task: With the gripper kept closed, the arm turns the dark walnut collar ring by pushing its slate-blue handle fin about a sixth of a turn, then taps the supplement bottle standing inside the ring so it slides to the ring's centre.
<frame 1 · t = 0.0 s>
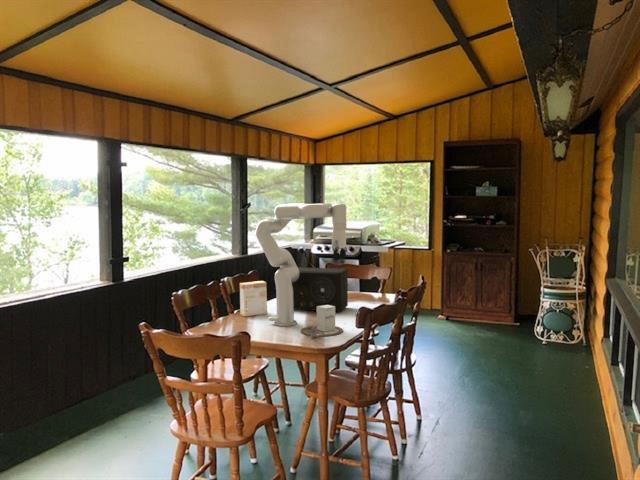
hand: (339, 259, 287), 37 cm above the table, tool pointing down, fingers open, 9 cm apart
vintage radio: (315, 309, 340), on the table
collar: (320, 327, 282), point 3 cm above the table, hinge at 0.0°
coffeecake box: (253, 314, 329), on the table
supplement box: (326, 330, 288), resting in collar
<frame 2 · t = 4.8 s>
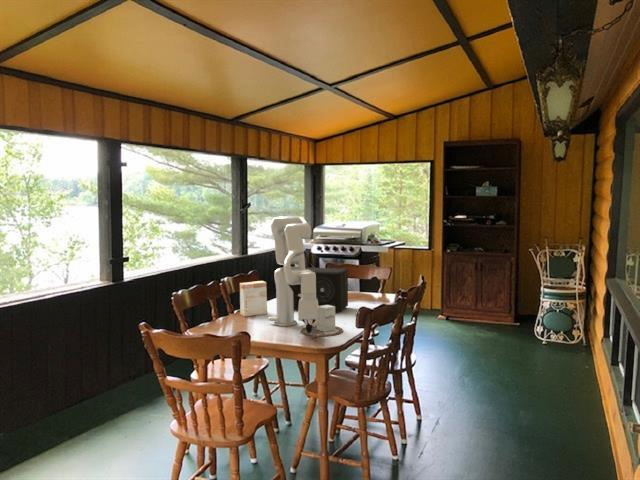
hand: (309, 332, 273), 2 cm above the table, tool pointing down, fingers closed
collar: (320, 327, 282), point 3 cm above the table, hinge at 0.6°, touching gripper
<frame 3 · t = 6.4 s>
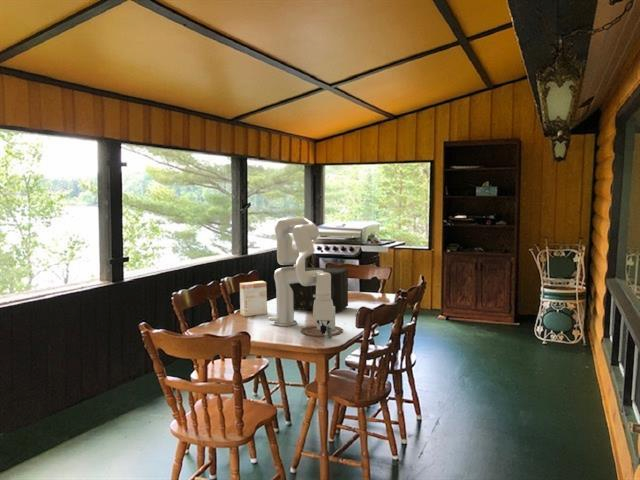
hand: (323, 333, 272), 2 cm above the table, tool pointing down, fingers closed
collar: (322, 327, 282), point 3 cm above the table, hinge at 35.2°, touching gripper
everything else where it was.
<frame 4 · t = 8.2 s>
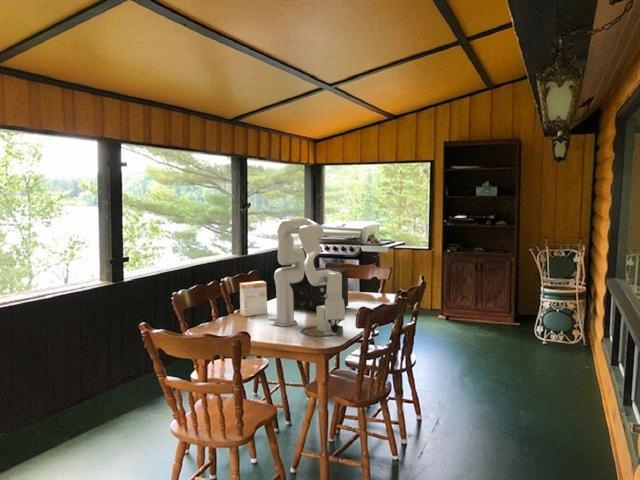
hand: (334, 332, 273), 2 cm above the table, tool pointing down, fingers closed
collar: (324, 327, 282), point 3 cm above the table, hinge at 61.4°, touching gripper
everything else where it was.
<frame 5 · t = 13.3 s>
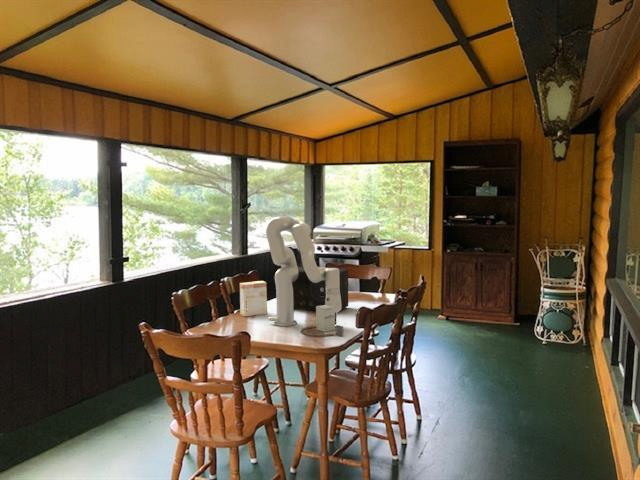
hand: (333, 324, 293), 1 cm above the table, tool pointing down, fingers closed
collar: (324, 327, 282), point 3 cm above the table, hinge at 61.5°
supplement box: (325, 330, 287), resting in collar, touching gripper
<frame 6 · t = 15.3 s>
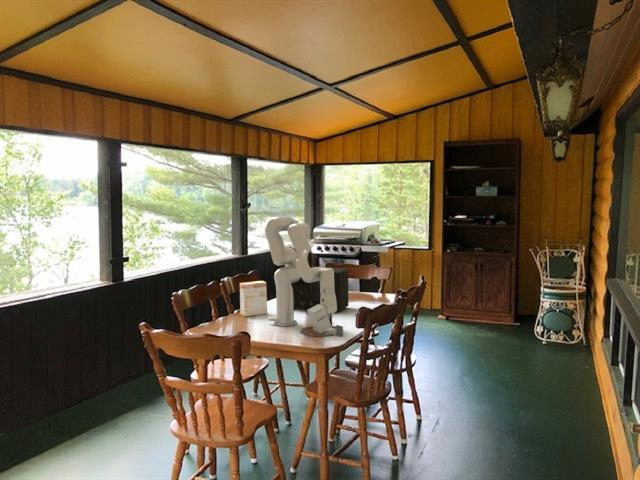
hand: (328, 325, 287), 2 cm above the table, tool pointing down, fingers closed
supplement box: (323, 329, 283), point 1 cm above the table, touching gripper
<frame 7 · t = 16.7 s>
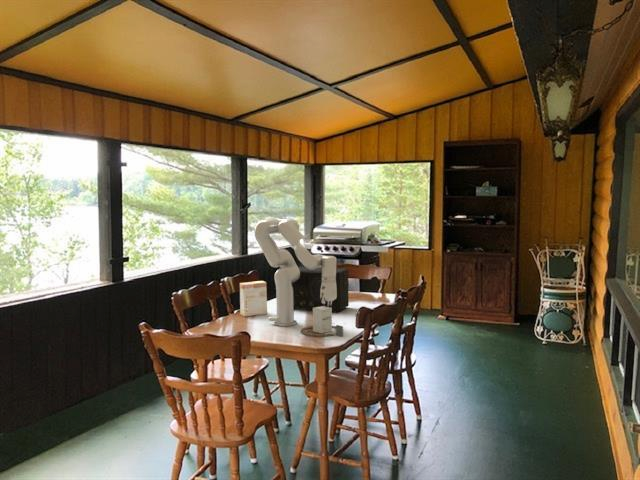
hand: (327, 312, 291), 8 cm above the table, tool pointing down, fingers closed
supplement box: (322, 331, 284), resting in collar
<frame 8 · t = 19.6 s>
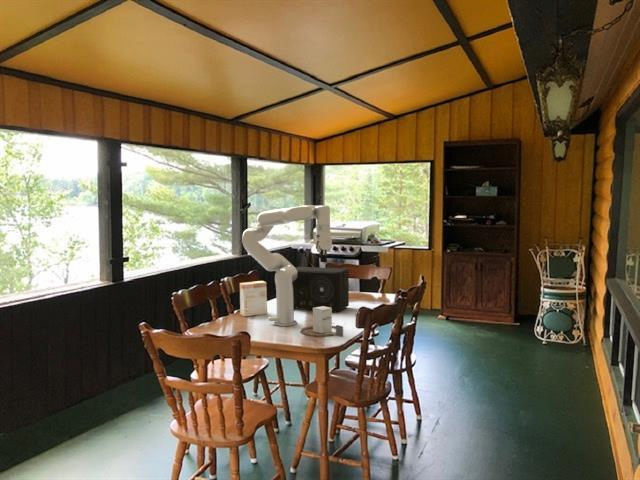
hand: (323, 261, 294), 35 cm above the table, tool pointing down, fingers closed
at the end: collar at +62° (first picture: +0°); supplement box 0.4 cm from the collar (horizontally); supplement box tilted 0° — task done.
